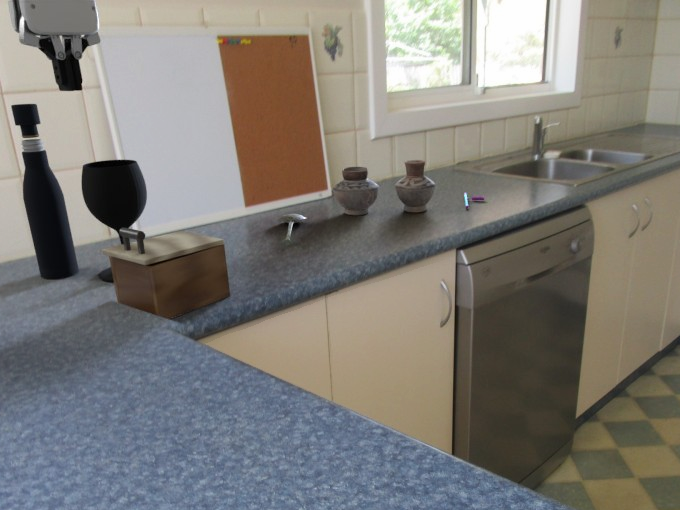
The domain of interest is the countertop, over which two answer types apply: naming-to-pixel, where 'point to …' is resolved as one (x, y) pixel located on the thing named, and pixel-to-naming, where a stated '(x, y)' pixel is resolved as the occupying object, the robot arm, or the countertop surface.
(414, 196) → the pottery
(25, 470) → the countertop surface
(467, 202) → the squeegee
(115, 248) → the chest lid
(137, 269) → the chest
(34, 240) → the black water bottle
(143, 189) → the wine glass
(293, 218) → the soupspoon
